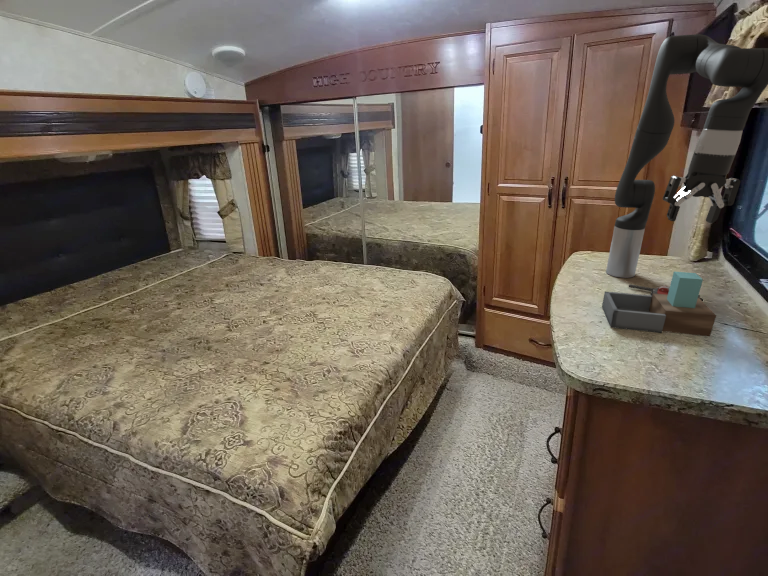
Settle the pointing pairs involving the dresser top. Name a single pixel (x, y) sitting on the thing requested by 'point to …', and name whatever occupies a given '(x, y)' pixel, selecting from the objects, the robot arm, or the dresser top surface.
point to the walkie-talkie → (656, 290)
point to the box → (631, 312)
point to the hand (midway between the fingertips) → (690, 221)
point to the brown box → (683, 316)
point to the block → (684, 289)
